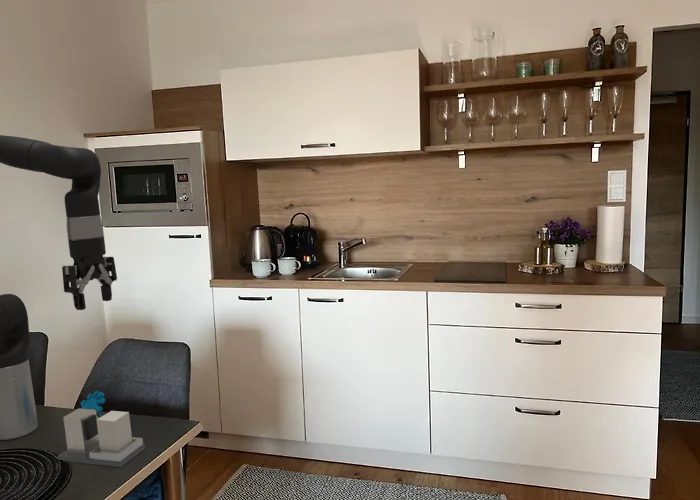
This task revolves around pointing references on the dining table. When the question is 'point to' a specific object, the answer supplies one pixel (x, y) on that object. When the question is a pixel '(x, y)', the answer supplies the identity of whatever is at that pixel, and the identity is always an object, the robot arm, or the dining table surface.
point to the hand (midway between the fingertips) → (94, 305)
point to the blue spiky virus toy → (94, 402)
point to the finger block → (114, 431)
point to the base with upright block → (92, 442)
